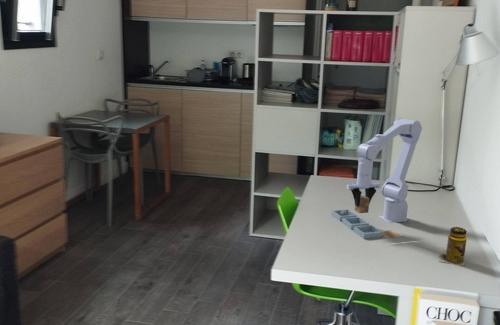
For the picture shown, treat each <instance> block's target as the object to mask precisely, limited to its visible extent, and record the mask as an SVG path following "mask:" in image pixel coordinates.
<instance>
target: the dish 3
mask: <svg viewBox="0 0 500 325" xmlns="http://www.w3.org/2000/svg"><path fill="white" fill-rule="evenodd" d="M381 231H382V230H380V229H378V228H377V227H375V226H373V225H372V224H369V225H367V226H356V227H354V229H353V233H355V234H356V235H358V236H359V237H361V239H363V240H365V239H374V238H375V239H377V238H382V236H383V235H382V232H381Z"/></svg>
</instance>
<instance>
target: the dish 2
mask: <svg viewBox="0 0 500 325" xmlns="http://www.w3.org/2000/svg"><path fill="white" fill-rule="evenodd" d="M341 223H342V224H343V225H344V226H346V227H347V228H348V229H350V230H352V231H354V227H356V226H367V225H370V223H369V222H368V221H366V220H365V219H363V218H362V217H360V216H357V217H351V218H342V221H341Z"/></svg>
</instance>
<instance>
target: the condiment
mask: <svg viewBox="0 0 500 325" xmlns="http://www.w3.org/2000/svg"><path fill="white" fill-rule="evenodd" d="M447 236H448V238H447V245H446V252H445V254H444V253H439V255H438V256H439V258H438V262H441V263H447V264H451V265H456V266H462V267H464V266H465V264H466V263H465V253H466V247H467V241H468V240H467V239H468V238H467V230H466V229H465V228H463V227H459V226H453V227H451V228H450V231H449V235H447Z"/></svg>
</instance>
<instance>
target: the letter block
mask: <svg viewBox="0 0 500 325" xmlns="http://www.w3.org/2000/svg"><path fill="white" fill-rule="evenodd" d="M369 200H370V199H369V198H368V197H366V196H365V195H361V196H360V203H359V207H357V206H356V205H355V204H354V211H356V213H358V214H367V213H369V210H370V209H369V208H370V204H369Z"/></svg>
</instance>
